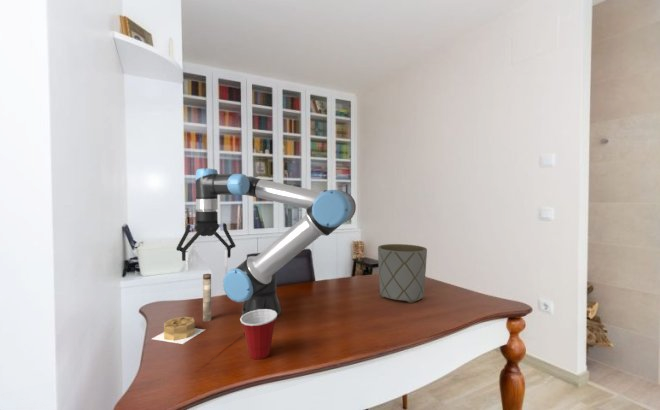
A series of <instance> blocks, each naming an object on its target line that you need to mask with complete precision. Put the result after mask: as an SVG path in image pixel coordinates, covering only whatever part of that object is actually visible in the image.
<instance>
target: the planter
mask: <svg viewBox="0 0 660 410" xmlns="http://www.w3.org/2000/svg"><path fill="white" fill-rule="evenodd" d="M427 254H428V249H427V247H425V246H420V245H417V244H416V245H414V244H403V243H401V244H399V243H390V244H389V243H387V244H382V245H378V246H377V258H378V259H377V260H378V264H377V265H378V280H379V281H378V283H379V294H380V297H381V298H382V299H384V298H388V299H391V300H395V301H402V302H403V301H404V302H407V303H408V304H412V303H415V302H418V301H419V300H422V299H423V298H424V294H425V283H426V271H427V270H426V269H427V258H428V255H427Z"/></svg>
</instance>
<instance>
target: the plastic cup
mask: <svg viewBox="0 0 660 410" xmlns="http://www.w3.org/2000/svg"><path fill="white" fill-rule="evenodd" d="M277 317H278V316H277V313H276V311H274V310H271V309H258V310H254V311H250V312H248V313H245V314H244V315H243V316H242V315H241V317H240V318H239V320H240V323H241V325H242V326H243V330H244V334H245V341H246V345H247V350H248V354H249V357H250V359H252V360H262V359H265V358H268V356H269V355H270V352H271V347H272V346H271V345H272V341H273V335H274V328H275V324H276V323H275V322H276V319H277Z"/></svg>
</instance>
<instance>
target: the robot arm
mask: <svg viewBox="0 0 660 410" xmlns="http://www.w3.org/2000/svg"><path fill="white" fill-rule="evenodd" d="M194 180H195V181H194V182H195V210H196V212H195V224H190V223H187V224H186V228H185V231H184V233H183V235H182V236H181V239H180V240H179V243H178V244H177V246H176V251H177V252H178V251H179V252H180V253H181V260H182V261H183V262H184V261H185V271H189V251H188V249H190V247H191V246H192V245H193V243H194V242H195V241H196V240H197V238H199V237H212V236H215V237H216V238H217V239H218V241H220V242H221V244H222V245H223V246H224V247H225V248H224V267H225V268H228V259H229V258H231V251H232V249H233V248H236V243H235V241H234V240H233V238H232V236H231V234H230V232H229V230H228V227H227V224H226V223H225V222H223V223H220V224H219V223H218V220H219V219H218V213H219V212H218V211H217V210H218V204H219V203H218V196H221V195H222V196H249V197H253V198H258V199H262V200H267V201H270V202H276V203H280V204H284V205H288V206H292V207H295V208H296V207H297V208H302V209H305V213H304V216H303V217H302V218H301V219H300V220H298V221H297V222H296V223H294V225H292V226H291V227H290V228H289V229H287V231H285V232H284V233H282V235H280V236H279V237H278V238H276V239H275V240H274V241H273V242H272V243H271V244H270V245H268V246H267V247H266V248H264V250H262V251H261V252H260V253H259V254H257V255H256V256H255V255H252V256H248V257H247V258H246V259H245V260H244V261H243V262H241V263H240V264H239V265H238V266H237V267H235V268H232V269H230V270H228V272H226V273H225V275H224V277H223V280H222V288H223V291H224V293H225V295H226V296H227V297H228V299H230V300H231V301H233V302H235V303H243V305H242V309H241V316H243V315H244V314H245V313H248V312H250V311H254V310H258V309H271V310H274V311H276V313H277V317H279V316H280V315H281V304H280V301H279V299H278V295H277V273H278V271H279V270H281V268H283V267H284V266H285V265H287V264H288V263H289V262H291V260H293V259H294V258H295V257H296V256H298V255H299V254H300V253H301V252H302V251H304V250H305V249H306V248H308V247H309V246H310V245H311V244H312V243H313V242H315V241H316V240H318V239H319V237H321V236H324V237H325V236H328V237H329V235H330V234H332V233H333V232H335V230H337V229H338V228H340V226H342V225H343V224H345V223H347V222H349V221H350V220H352V219H353V217H354V215H356V214H355V213H356V210H357V209H356V208H357V205H356V201H355V199H354V198H353V196H352V195H351V194H350V193H348V192H347V191H342V190H338V189H329V190H326V189H324V190H322V191H318V190H314V189H308V188H305V187H301V186H295V185H291V184H286V183H282V182H276V181H272V180H269V179H268V180H266V179H264V178H263V179H261V178H258V177H255V176H249V175H248V176H247V175H246V174H243V173H227V174H226V173H225V174H224V173H222V174H220V173H218V169H215V168H205V167H204V168H198V169H196V171H195V179H194ZM219 228H220V229H221V230H223V232H224V234H225V236H226V238H227V239H228V241H229V243H230V244H228V243H227V242H226V241H225V239H224V238H223V237H222V236H221V235H220V234H219V232H217V231H218V230H219ZM193 229H194V230H195V231H196V232H195V234H194V235H193V236H192V237H191V238H190V240H189V241H187V243H186V244H185V245H184V243H185V240H186V239H187V237H188V235H189V234H190V231H193ZM183 245H184V246H183ZM182 246H183V247H182Z"/></svg>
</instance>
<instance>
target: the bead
mask: <svg viewBox="0 0 660 410" xmlns="http://www.w3.org/2000/svg"><path fill="white" fill-rule="evenodd" d="M195 324H196V323H195V319H194V317H190V316H181V317H180V316H179V317H175V318H171V319H168V320H167V321H165V322H163V332H164V339H166V340H172V341H175V340H180V339H186V338H188V337H190V336H191V335H193V334H195V328H196V326H195Z"/></svg>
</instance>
